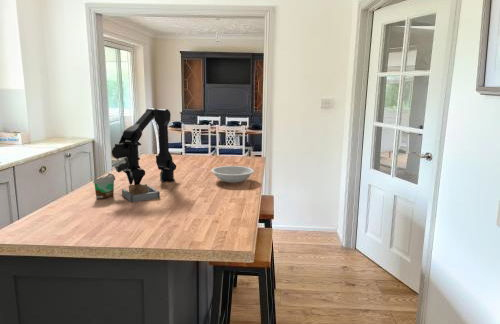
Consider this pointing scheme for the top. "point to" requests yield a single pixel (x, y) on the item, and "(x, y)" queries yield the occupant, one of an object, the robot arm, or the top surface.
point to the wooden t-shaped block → (138, 189)
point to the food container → (104, 187)
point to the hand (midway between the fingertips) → (133, 186)
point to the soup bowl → (232, 173)
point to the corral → (142, 195)
